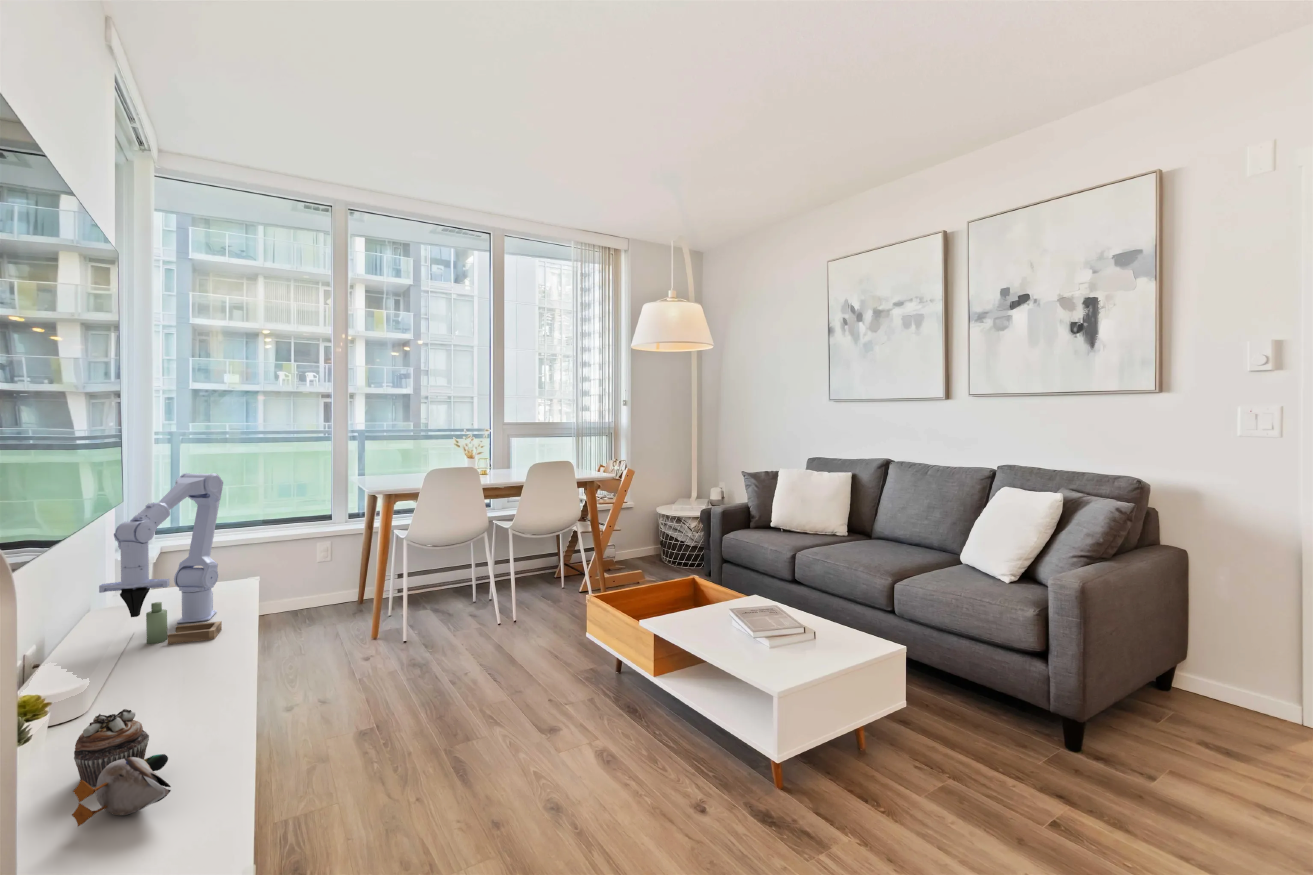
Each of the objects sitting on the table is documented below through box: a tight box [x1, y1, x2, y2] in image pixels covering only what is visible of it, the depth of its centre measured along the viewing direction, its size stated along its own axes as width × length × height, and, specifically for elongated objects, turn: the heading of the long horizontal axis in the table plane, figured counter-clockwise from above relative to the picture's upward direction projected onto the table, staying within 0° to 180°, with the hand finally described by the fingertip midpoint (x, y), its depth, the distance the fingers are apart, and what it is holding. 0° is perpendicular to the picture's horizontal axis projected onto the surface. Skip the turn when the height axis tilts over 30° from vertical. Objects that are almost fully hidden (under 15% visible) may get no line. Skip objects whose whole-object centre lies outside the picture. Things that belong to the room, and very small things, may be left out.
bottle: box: [145, 601, 168, 645], centre depth 167 cm, size 4×4×10 cm
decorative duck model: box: [71, 753, 172, 827], centre depth 97 cm, size 15×8×15 cm
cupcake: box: [73, 708, 150, 788], centre depth 104 cm, size 10×10×10 cm
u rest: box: [167, 620, 223, 645], centre depth 171 cm, size 8×10×2 cm
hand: (135, 615), depth 165 cm, fingers closed
